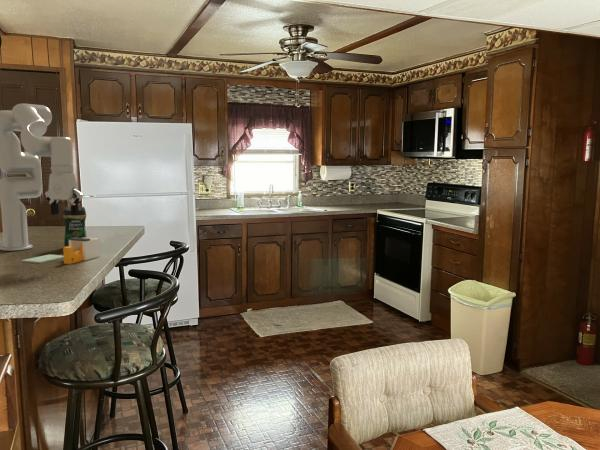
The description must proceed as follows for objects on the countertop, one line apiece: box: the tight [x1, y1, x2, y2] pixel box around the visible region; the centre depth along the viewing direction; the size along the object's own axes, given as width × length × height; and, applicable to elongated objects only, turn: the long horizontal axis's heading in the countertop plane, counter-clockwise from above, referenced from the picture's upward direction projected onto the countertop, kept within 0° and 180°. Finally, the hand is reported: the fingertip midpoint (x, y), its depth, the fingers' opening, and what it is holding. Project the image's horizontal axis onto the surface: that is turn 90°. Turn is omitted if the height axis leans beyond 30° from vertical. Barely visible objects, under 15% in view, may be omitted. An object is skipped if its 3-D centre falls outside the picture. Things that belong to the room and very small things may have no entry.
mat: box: [21, 254, 64, 264], centre depth 198 cm, size 9×13×1 cm
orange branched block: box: [62, 243, 84, 265], centre depth 196 cm, size 12×4×6 cm, turn 165°
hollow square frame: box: [69, 237, 101, 261], centre depth 202 cm, size 8×8×8 cm
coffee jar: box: [62, 206, 88, 247], centre depth 224 cm, size 10×8×19 cm
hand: (64, 214), depth 191 cm, fingers open, 9 cm apart
